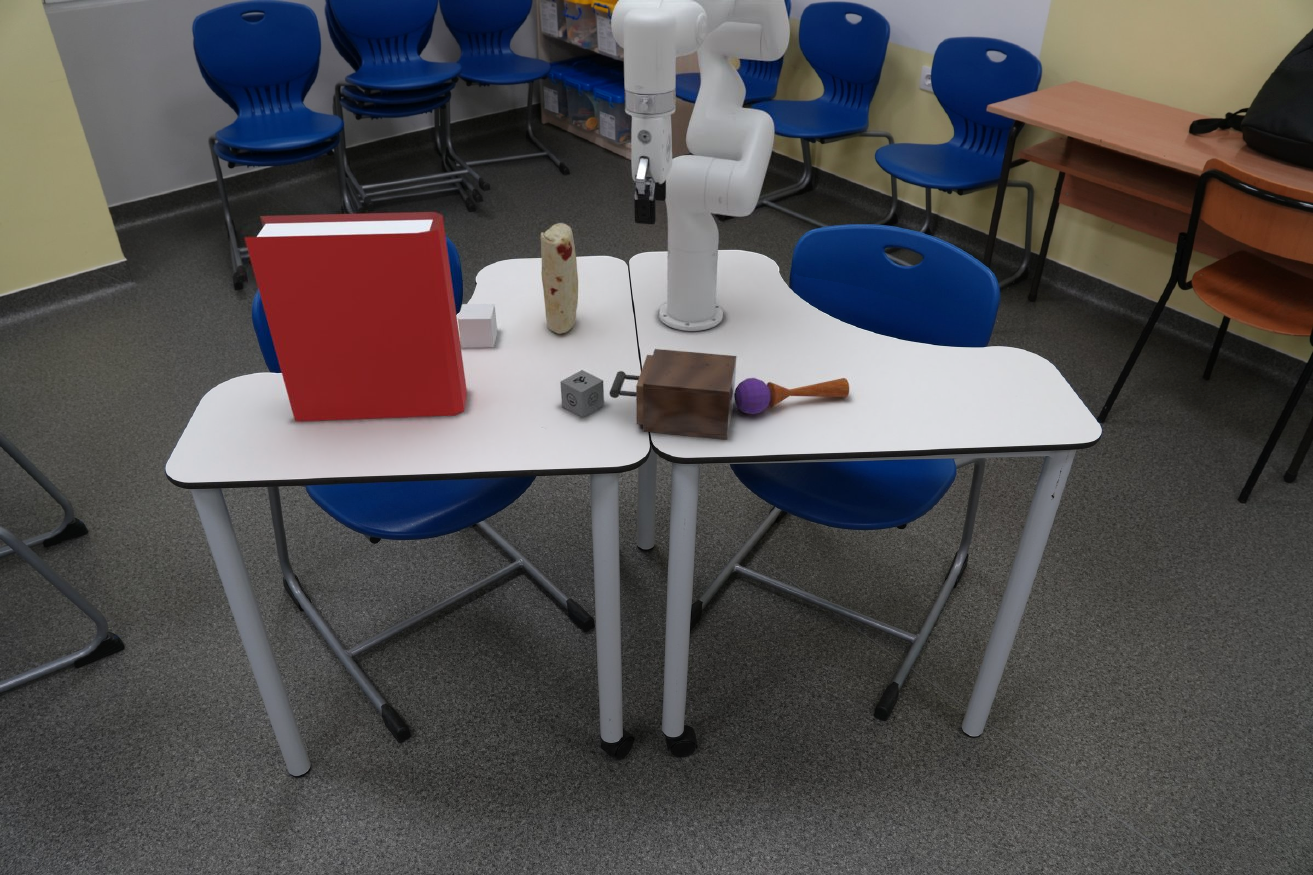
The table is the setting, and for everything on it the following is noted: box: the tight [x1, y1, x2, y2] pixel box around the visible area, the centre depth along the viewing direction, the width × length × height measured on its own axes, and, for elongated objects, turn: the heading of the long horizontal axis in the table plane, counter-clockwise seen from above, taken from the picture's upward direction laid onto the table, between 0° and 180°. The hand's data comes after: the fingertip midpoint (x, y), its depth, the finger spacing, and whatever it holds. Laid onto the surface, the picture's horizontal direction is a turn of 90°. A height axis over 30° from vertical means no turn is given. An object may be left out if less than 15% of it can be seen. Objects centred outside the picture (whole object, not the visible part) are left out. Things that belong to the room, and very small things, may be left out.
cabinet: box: [642, 348, 737, 440], centre depth 147 cm, size 14×11×9 cm
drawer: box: [608, 354, 653, 426], centre depth 148 cm, size 17×10×7 cm, turn 81°
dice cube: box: [559, 369, 605, 419], centre depth 151 cm, size 5×5×5 cm
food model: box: [540, 222, 579, 335], centre depth 170 cm, size 10×7×20 cm
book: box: [244, 211, 468, 422], centre depth 143 cm, size 27×8×32 cm, turn 94°
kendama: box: [734, 377, 850, 415], centre depth 151 cm, size 6×6×20 cm
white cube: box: [457, 303, 498, 349], centre depth 169 cm, size 6×6×6 cm
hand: (650, 211), depth 144 cm, fingers open, 9 cm apart
